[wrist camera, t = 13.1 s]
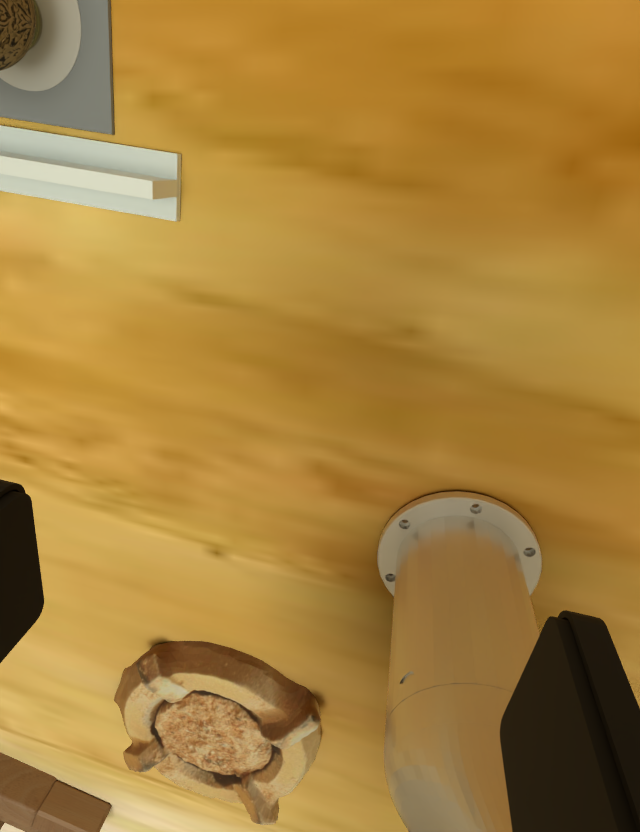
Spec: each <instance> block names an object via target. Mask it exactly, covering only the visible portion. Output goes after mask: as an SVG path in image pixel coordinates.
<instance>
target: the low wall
mask: <svg viewBox="0 0 640 832" xmlns="http://www.w3.org/2000/svg"><path fill="white" fill-rule="evenodd" d="M0 191H5V192H11V193H16V194H22V195H28V196H34V197H39V198H45V199H51V200H57V201H62V202H68V203H74V204H80V205H85V206H91V207H97V208H102V209H108V210H114V211H120V212H125V213H131V214H137V215H143V216H148V217H154V218H160V219H166V220H171V221H180V194H181V154H177V153H171V152H165V151H158V150H152V149H146V148H140V147H134V146H127V145H121V144H115V143H109V142H103V141H96V140H90V139H84V138H78V137H72V136H65V135H59V134H53V133H47V132H40V131H34V130H28V129H22V128H16V127H9V126H3V125H0Z"/></svg>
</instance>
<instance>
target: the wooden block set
mask: <svg viewBox="0 0 640 832" xmlns="http://www.w3.org/2000/svg"><path fill="white" fill-rule="evenodd" d="M110 809H111V806H110V804H109V803H107V802H104V801H102V800H100V799H98V798H95V797H93V796H91V795H89V794H86V793H84V792H82V791H80V790H78V789H75V788H73V787H71V786H69V785H66V784H64V783H62V782H60V781H57V780H56V778H55V777H54V776H51V775H49V774H47V773H45V772H43V771H40V770H38V769H36V768H34V767H31V766H29V765H27V764H25V763H23V762H20V761H18V760H16V759H14V758H11V757H9V756H7V755H5V754H2V753H0V829H1V828H2V826H3V824H4V823H7V824H9V825H12V826H14V827H16V828H18V829H21V830H23V831H25V832H100V829H101V827H102V825H103V823H104V821H105V819H106V817H107V815H108V813H109V811H110Z"/></svg>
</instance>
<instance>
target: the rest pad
mask: <svg viewBox="0 0 640 832" xmlns="http://www.w3.org/2000/svg"><path fill="white" fill-rule="evenodd" d="M36 1H37V3H38V6H39V8H40V11H41V15H42V22H43V27H42V34H41V37H40V39H39V41H38V43H37V44H36V45H35V46H34V47H33V48H32V49H31V50H29V51H28V52H27V53H26V55H25V56H24V57H23V58H22V59H21V60H20V61H19V62H18V63H16V64H15V65H13V66H11V67H10V68H7V69H5V70H1V71H0V117H6V118H12V119H18V120H25V121H31V122H37V123H43V124H50V125H56V126H62V127H68V128H75V129H81V130H87V131H94V132H100V133H106V134H113V135H114V105H113V72H112V39H111V6H110V0H36Z"/></svg>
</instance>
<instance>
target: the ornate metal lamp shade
mask: <svg viewBox="0 0 640 832" xmlns="http://www.w3.org/2000/svg"><path fill="white" fill-rule="evenodd" d="M42 27H43V22H42V15H41V11H40V8H39V6H38V3H37V1H36V0H0V71H1V70H5V69H7V68H10V67H11V66H13V65H15V64H16V63H18V62H19V61H20V60H21V59H22V58H23V57H24V56H25V55H26V53H27V52H28V51H29V50H31V49H32V48H33V47H34V46H35V45H36V44H37V43H38V41H39V39H40V37H41V34H42Z"/></svg>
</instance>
